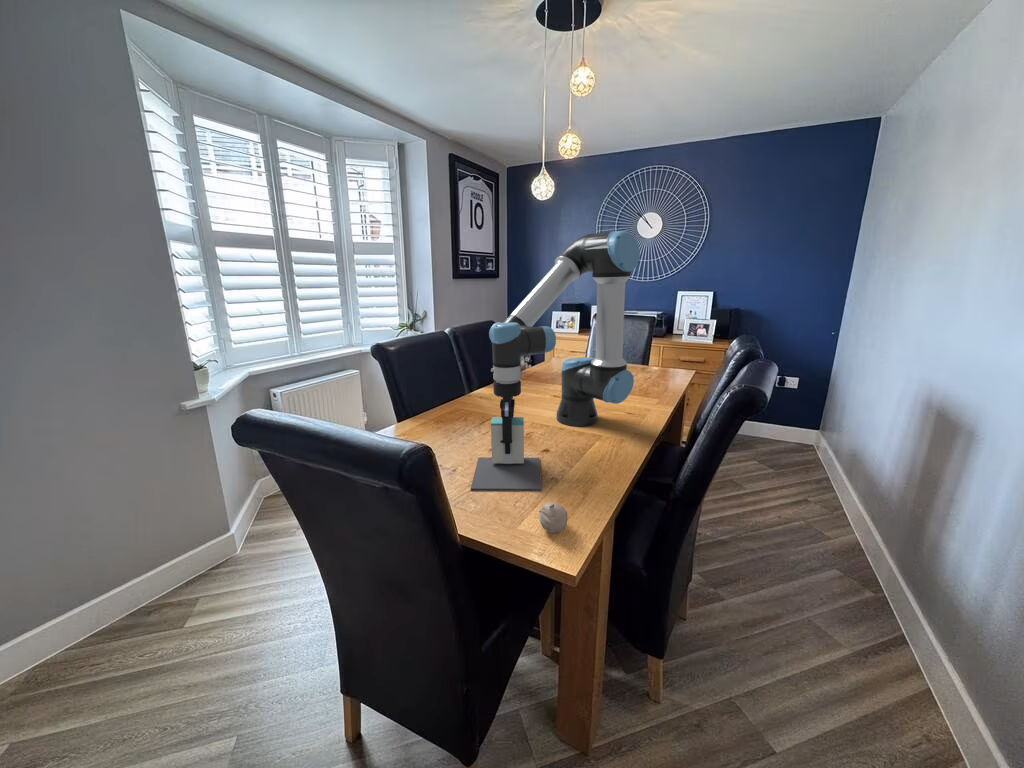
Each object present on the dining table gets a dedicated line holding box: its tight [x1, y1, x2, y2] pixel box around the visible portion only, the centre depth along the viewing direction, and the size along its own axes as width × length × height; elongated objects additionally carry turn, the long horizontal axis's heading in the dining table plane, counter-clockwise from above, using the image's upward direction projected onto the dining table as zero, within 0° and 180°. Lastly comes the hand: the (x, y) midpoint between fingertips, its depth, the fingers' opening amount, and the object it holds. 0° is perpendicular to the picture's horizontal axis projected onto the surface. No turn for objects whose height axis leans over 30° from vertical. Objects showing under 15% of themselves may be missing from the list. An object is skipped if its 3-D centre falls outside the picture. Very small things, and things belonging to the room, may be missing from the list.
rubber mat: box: [470, 456, 543, 492], centre depth 113 cm, size 18×18×1 cm
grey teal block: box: [490, 416, 525, 463], centre depth 117 cm, size 9×5×12 cm, turn 88°
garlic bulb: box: [538, 501, 569, 535], centre depth 88 cm, size 7×6×8 cm
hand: (508, 458), depth 119 cm, fingers closed on grey teal block, 5 cm apart
